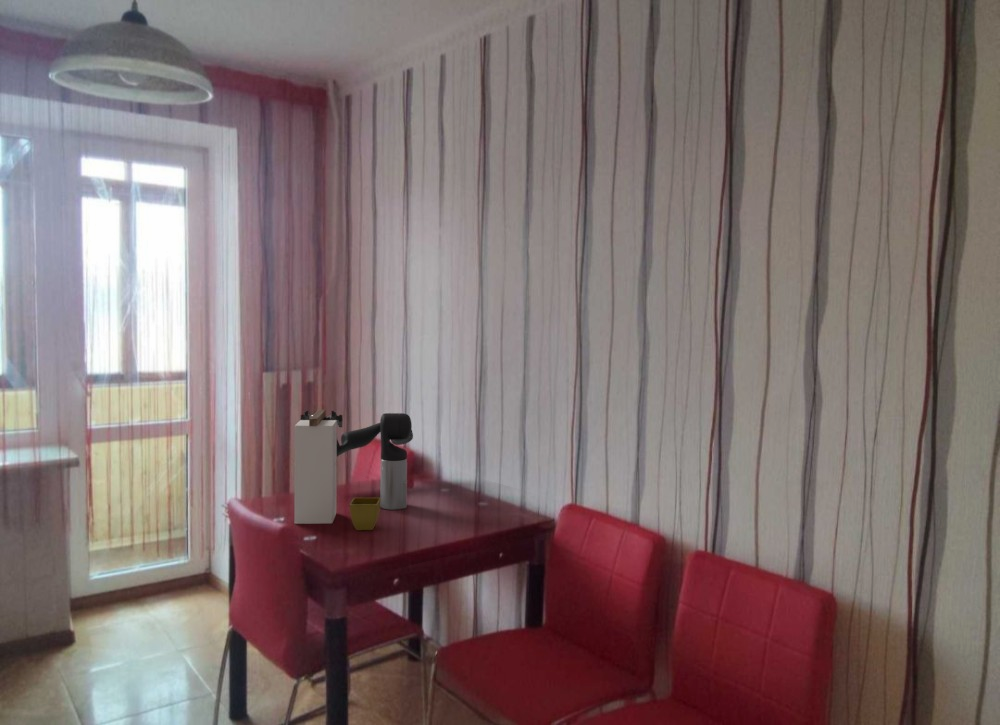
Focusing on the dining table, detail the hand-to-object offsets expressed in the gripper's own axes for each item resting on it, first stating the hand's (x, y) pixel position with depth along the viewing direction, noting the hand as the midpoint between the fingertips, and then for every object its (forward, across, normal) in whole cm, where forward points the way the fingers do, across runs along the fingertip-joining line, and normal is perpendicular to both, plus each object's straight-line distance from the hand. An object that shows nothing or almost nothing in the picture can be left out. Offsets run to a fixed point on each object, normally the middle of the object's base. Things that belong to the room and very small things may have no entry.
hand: (319, 413), depth 256 cm
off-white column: (-8, 0, -34) cm, 35 cm away
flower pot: (+2, -17, -40) cm, 44 cm away
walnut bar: (+4, 0, -4) cm, 6 cm away
